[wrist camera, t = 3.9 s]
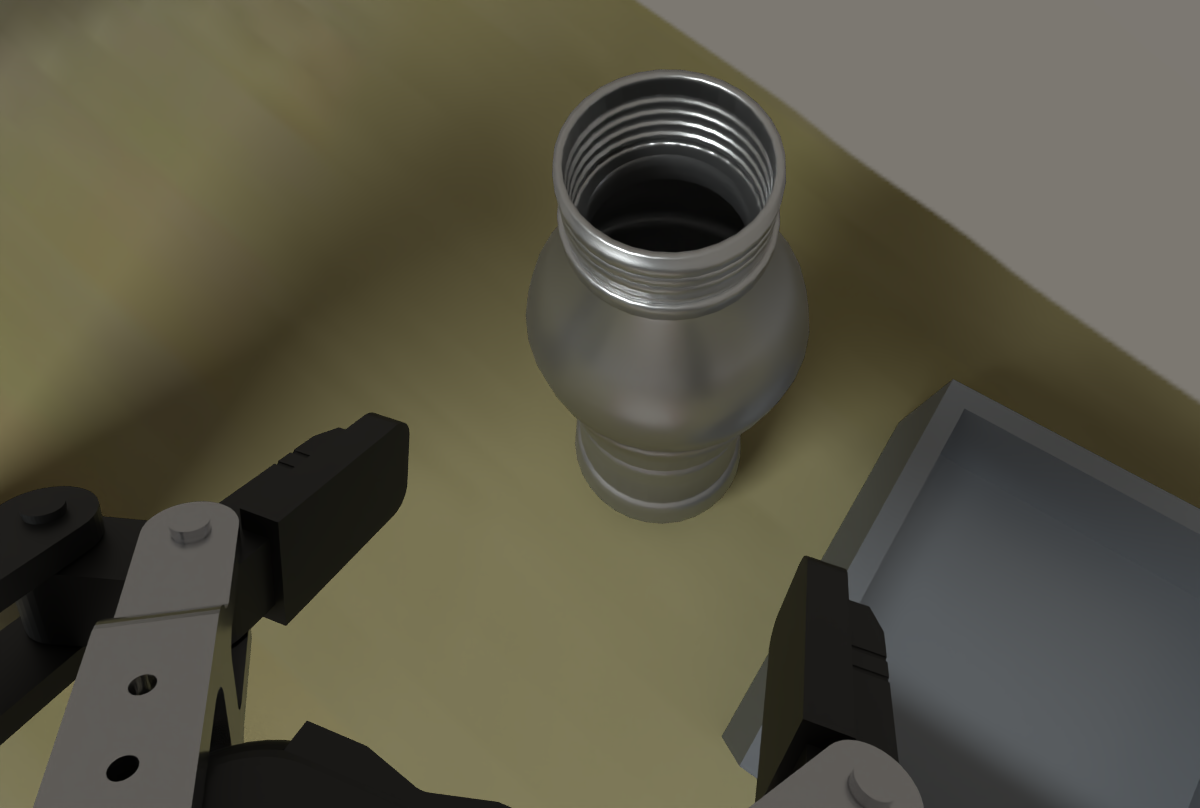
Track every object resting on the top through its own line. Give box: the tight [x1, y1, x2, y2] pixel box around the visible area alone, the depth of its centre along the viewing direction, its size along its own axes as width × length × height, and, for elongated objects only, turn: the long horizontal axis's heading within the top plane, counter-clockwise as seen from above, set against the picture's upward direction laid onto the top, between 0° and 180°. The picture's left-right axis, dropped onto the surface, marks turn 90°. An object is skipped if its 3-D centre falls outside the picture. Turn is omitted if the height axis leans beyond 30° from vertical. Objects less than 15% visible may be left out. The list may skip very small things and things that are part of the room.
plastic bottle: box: [526, 70, 809, 524], centre depth 20 cm, size 6×7×20 cm
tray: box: [722, 379, 1200, 808], centre depth 23 cm, size 15×15×6 cm
